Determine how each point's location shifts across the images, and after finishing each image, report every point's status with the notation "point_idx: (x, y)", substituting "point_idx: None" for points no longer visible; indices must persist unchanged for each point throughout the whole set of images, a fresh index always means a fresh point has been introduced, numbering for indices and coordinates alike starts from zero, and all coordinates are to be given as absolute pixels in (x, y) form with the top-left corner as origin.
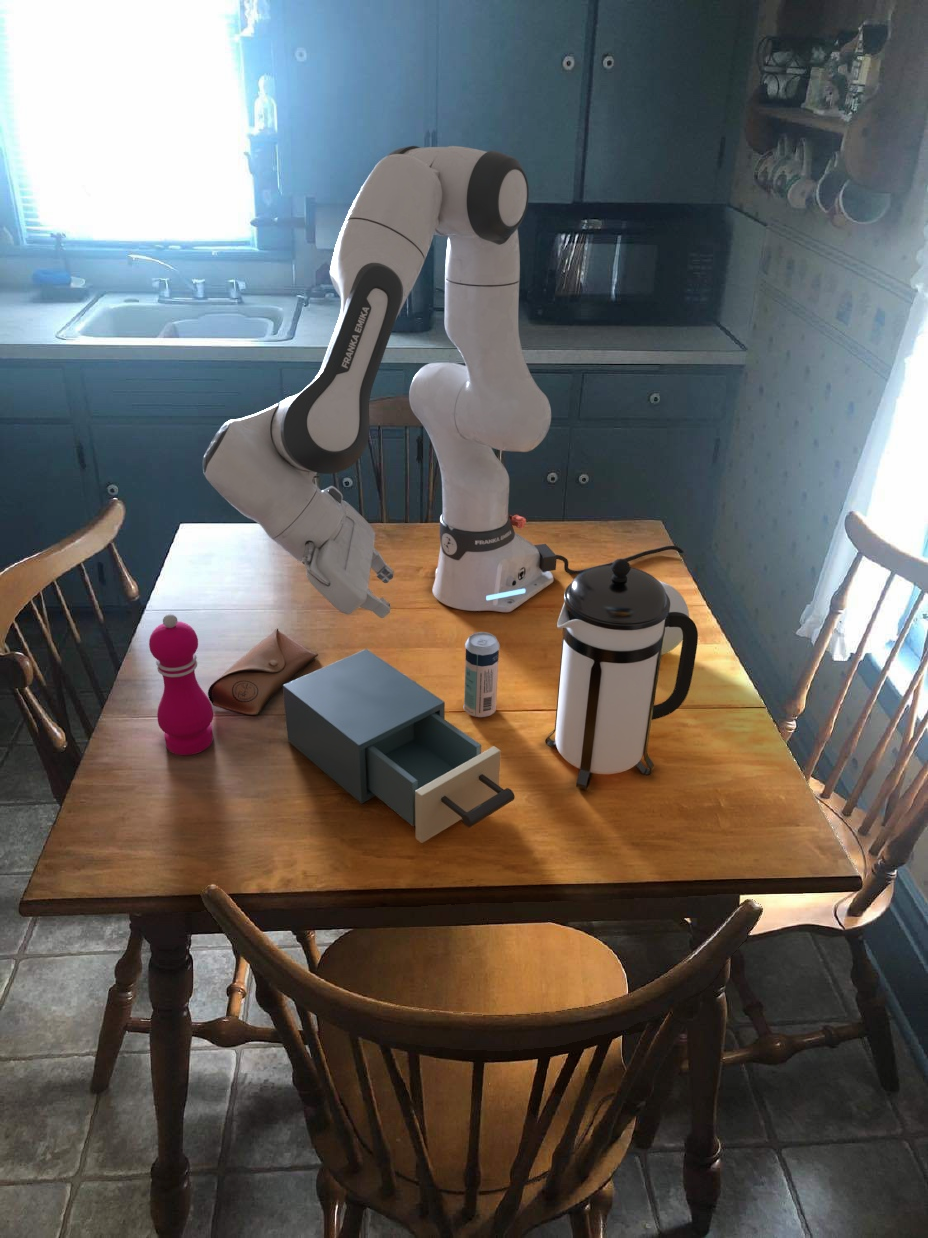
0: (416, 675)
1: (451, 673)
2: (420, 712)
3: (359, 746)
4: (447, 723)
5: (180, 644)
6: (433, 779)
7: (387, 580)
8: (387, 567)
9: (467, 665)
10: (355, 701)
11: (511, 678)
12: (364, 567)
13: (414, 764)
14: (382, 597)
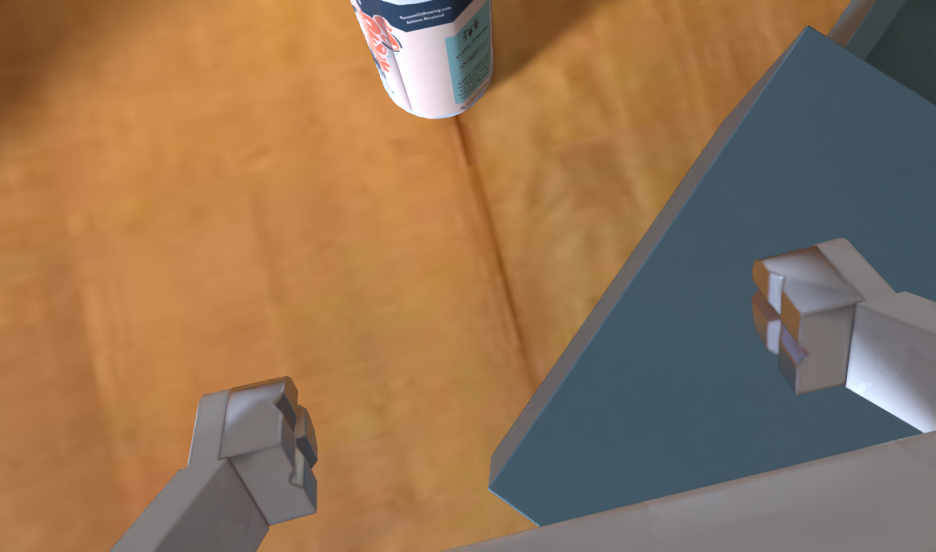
0: (281, 333)
1: (241, 213)
2: (913, 102)
3: None
4: (883, 7)
5: None
6: (921, 94)
7: (305, 421)
8: (238, 437)
9: (464, 20)
10: None
11: (227, 5)
12: (864, 535)
13: None
14: (802, 312)
